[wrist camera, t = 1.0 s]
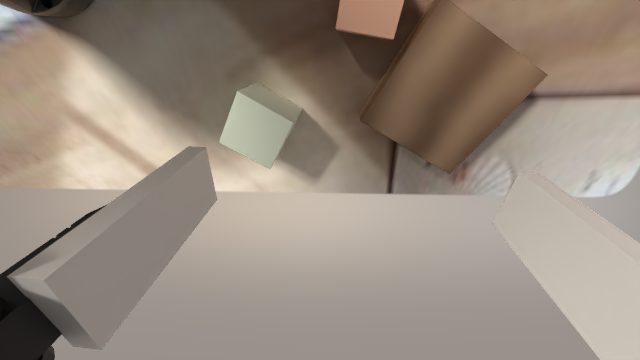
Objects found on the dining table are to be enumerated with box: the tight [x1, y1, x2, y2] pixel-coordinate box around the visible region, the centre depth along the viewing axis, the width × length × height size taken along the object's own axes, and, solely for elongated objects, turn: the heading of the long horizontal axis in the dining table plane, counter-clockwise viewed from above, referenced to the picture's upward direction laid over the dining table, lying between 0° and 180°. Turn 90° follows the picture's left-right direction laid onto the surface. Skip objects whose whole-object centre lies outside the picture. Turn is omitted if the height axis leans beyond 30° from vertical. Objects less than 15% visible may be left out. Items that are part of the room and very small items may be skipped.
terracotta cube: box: [335, 0, 404, 40], centre depth 21 cm, size 5×5×5 cm
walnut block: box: [359, 0, 547, 174], centre depth 25 cm, size 12×12×4 cm
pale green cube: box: [219, 82, 303, 169], centre depth 27 cm, size 6×6×6 cm
